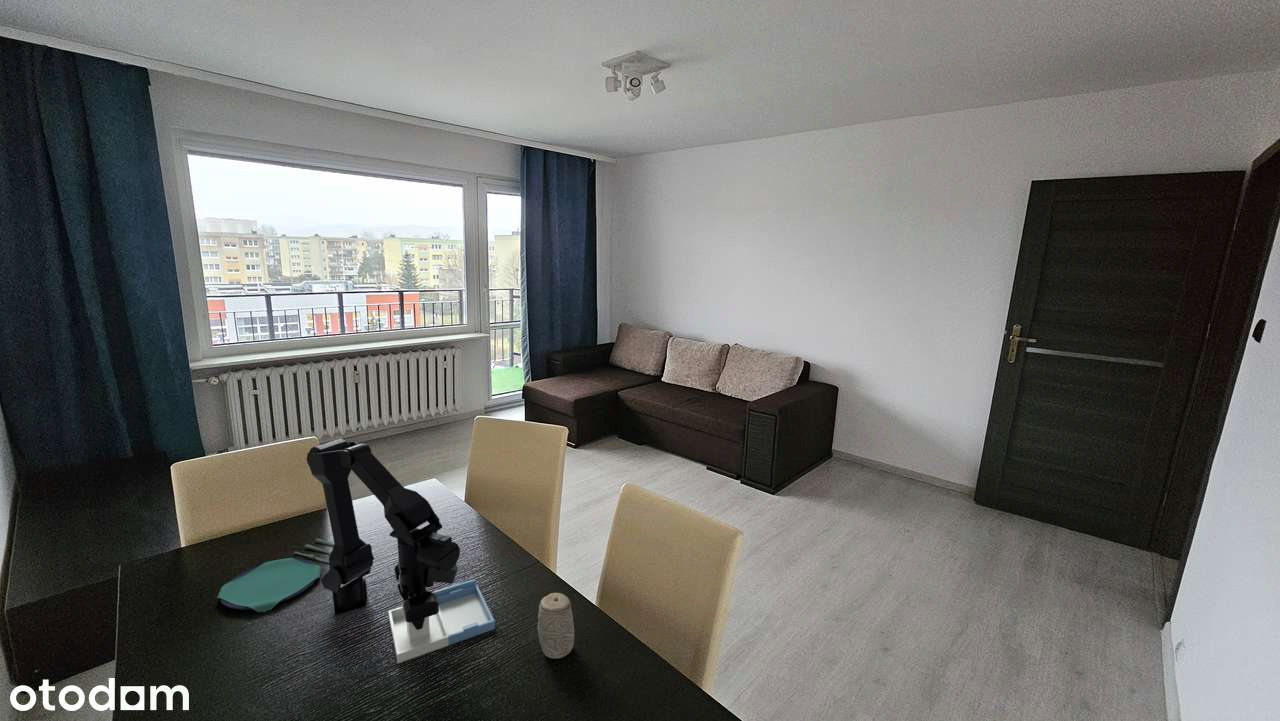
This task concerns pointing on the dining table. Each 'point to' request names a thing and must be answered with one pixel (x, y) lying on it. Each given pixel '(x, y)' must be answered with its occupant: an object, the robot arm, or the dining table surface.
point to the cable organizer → (444, 621)
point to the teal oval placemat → (272, 582)
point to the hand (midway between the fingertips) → (417, 622)
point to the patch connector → (416, 633)
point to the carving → (555, 625)
